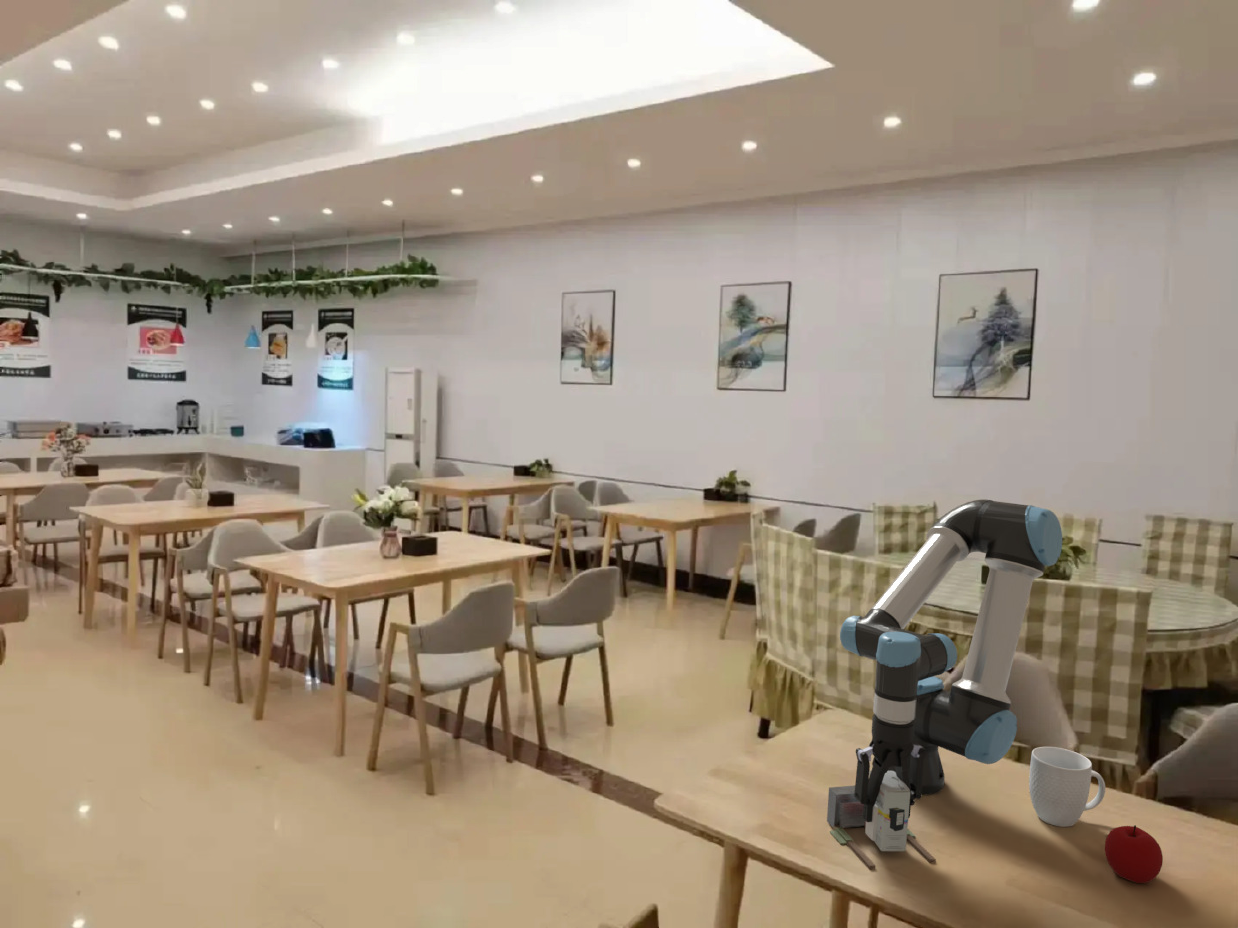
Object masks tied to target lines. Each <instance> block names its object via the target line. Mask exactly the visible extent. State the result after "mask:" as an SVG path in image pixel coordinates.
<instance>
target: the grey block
mask: <svg viewBox="0 0 1238 928" xmlns="http://www.w3.org/2000/svg"><path fill="white" fill-rule="evenodd" d="M854 793H855V785H845V786H832V787H828V798H827V799H828V800H827V814H826V822H827V823H828V825H830V826H831V828H833V826H840V827H842V828H843V829H846V828H847V829H848V828H859V827H865V823H866V820H865V819H864V818H863V806H864V804H861V803H860V802H859V801H858V800H857V799H856V798H855V797H854Z"/></svg>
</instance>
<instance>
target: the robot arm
mask: <svg viewBox="0 0 1238 928" xmlns="http://www.w3.org/2000/svg"><path fill="white" fill-rule="evenodd" d="M1062 548H1063V531H1062V527H1061V522H1060V520H1059V518H1058V517H1057V515H1056V514H1055V512H1053V511H1052V510H1049V509H1047V508H1042V507H1039V506H1035V505H1032V504H1031V505H1029V504H1027V505H1026V504H1019V503H1011V502H1003V501H995V500H991V499H976V500H975V499H974V500H971V501H967V502H965V503H963V504H960V505H958V506H956V507H955V508H953V509H951V510H950V511H947V512H946V513H944V515H942V516H941V517H940V518H939V519H937V520H936V521H935V522H934V524H932V526H931V528H930V529H929V530H928V531H927V533H926V541H925V542H924V544H923V545H922V546H921V547H920V548H919V550H918V551H917V552H916V553H915V554H914V556H913V557H912V558H911V559H910V560H909V561H908V563H907V564H906V565H905V567H903V569H902V570H901V571H900V573H898V575H897V576H896V577H895V579H894V580H893V581H892V582H891V584H890V585H889V586H888V587H887V588H886V590H885V591H884V592H883V593H882V595H881V596H880V597H879V598H878V600H877V601H876V602H875V603H874V604H873V606H872V607H871V608H870V610H868V612H866V613H865V615H864V616H861V615H851V616H849V617H847V618H845V620H844V622H843V623H842V624H841V627H840V630H839V641H840V642H841V645H842V647H843V648H844V650H846V651H848V652H850V653H853V654H855V655H858V656H859V657H864V658H867V659H870V660H874V661H876V663H875V683H874V697H873V707H872V708H873V710H872V712H873V715H872V718H871V719H872V721H871V737H872V739H871V741H870V743H869V745H868V747H865V748H863V749H862V748H860V747H857V748H856V749H855V755H856V759H857V764H856V771H855V772H856V773H855V793H854V797H855V798H856V799H857V800H858V801H859V802H860V803H861V804H864V806H863V818H864V819H865V820H866V829H865V830H864V831H865V835H866V836H867V837H868V838H869V839H870V840H871V841H873V842H875V841H876V836H877V822H878V808H879V807H878V806H877V805H876V804H875V802H876V799H877V796H878V793H879V790H880V785H881V784H882V781H883V778H884V775H885V773H887V771H894V772H895V773H896V776H897V777H898V778H899V779H901V780H902V781H903V782H904V783H905V784H906V785H907V787H908V788H909V789H910V804H909V816H908V819H909V818H910V817H911V810H912V809H911V808H912V807H911V806H914V805H915V803H916V801H915V800H921V798H922V796H926V795H927V796H928V795H929V796H930V795H934V794H937V793H939V792H942V790H943V789H944V787H945V778H946V777H945V771H944V768H943V764H942V761H941V755H940V753H939V748H941V749H944V750H947V751H949V752H952V753H954V754H957V755H959V756H963V757H965V758H966V759H967V760H971V761H976V762H979V763H981V764H985V765H992V764H993V765H994V764H995V763H998V762H999V761H1001V760H1002V759H1003V757H1005V756H1006V755H1007V753H1008V751H1009V750H1010V749H1011V747H1012V745H1013V742H1014V740H1015V738H1016V735H1017V731H1018V725H1017V724H1018V718H1017V716H1016V715H1015V714H1014V713H1013V712H1012V711H1011V710H1010V707H1011V704H1012V701H1011V699H1010V697H1009V696H1008V695H1007V693H1006V692H1007V690H1006V689H1007V687H1008V682H1009V679H1010V675H1011V671H1012V666H1013V663H1014V659H1015V654H1016V650H1017V646H1018V643H1019V639H1020V635H1021V630H1022V626H1023V622H1024V618H1025V616H1026V615H1025V614H1026V611H1027V606H1028V602H1029V599H1030V594H1031V590H1032V588H1033V582H1034V581H1035V580H1036V579H1037V578H1040V577H1042V576H1043V575H1044V572H1045V568H1046V567H1050V566H1054V565H1056V563H1057V562H1058V559H1060V557H1061V553H1062ZM977 552H978V553H979V552H980V553H984V554H985V556H984V562H985V563H986V565H987V567H988V568H989V569H988V570H989V572H988V575H987V576H988V577H987V580H986V583H985V586H984V592H983V595H982V599H981V602H980V607H979V611H978V614H977V618H976V623H975V626H974V630H973V634H972V638H971V642H970V645H969V649H968V654H967V658H966V661H965V666H964V668H963V672H962V677H961V678H960V679H959V680H957V681H955V682H953V683H952V685H951V689H950V691H948V690H945V689H944V688H945V683H944V681H943V680H942V679H941V678H939V677H937V676H939V675H943V674H944V673H946V672H947V671H950V670H951V669H952V668H954V667H955V665H956V663H957V659H958V650H957V647H956V645H955V643H954V642H953V640H952V639H951V638H949V637H948V635H945V634H943V633H936V632H935V633H933V632H932V633H928V634H922V633H917V632H914V631H911V630H908V629H907V630H906V629H905V628H906V627H907V626H908V625H909V623H910V622H911V621H912V620H913V618H914V617H915V616H916V614H917V613H918V612H919V611H920V609H921V608H922V607H923V605H924V604H925V603H926V601H927V600H928V599H929V598H930V597H931V595H932V594H933V593H934V591H935V590H936V589H937V588H938V586H939V585H940V584H941V582H942V581H943V580H944V579H945V578H946V576H947V574H948V573H949V572H950V571H951V570H952V569H953V567H954V566H955V564H957V562H962V561H964V560H965V559H966V558H967V557H968V556H969V554H972V553H977ZM872 755H873V760H872ZM871 761H872V763H870V762H871ZM870 764H871V765H872V768H871V765H870ZM870 769H871V770H870ZM870 771H871V773H870ZM869 773H870V777H869Z"/></svg>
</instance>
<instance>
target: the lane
mask: <svg viewBox="0 0 1238 928" xmlns="http://www.w3.org/2000/svg"><path fill="white" fill-rule="evenodd" d="M829 833H830V835H832V837H833V838H835V840H836V841H837V842H838V844H840V845H847V847H848V848H849V849H851V851H852V852H853V853H854V854H855V855H856V856H857V857H858V858H859V860H860V861H861V862H862V863H863V864H864V865H865V866H866V867H867V868H868V870H873V869H876V867H877V866H876V864H875V863H874V862H873V861H872V860H871V859H870V857H869V856H867V854H866V853H865V852H864V851H863V850H862V848H860V847H859V846H858V844H857V843H856V842H854V840H853V838H852V837H851V836H850V835H849V833H847V832H846V830H845V829H844V828H842V827H840V826H833V827H832V830H829ZM915 838H916V834H914V833H913V831H911V830H910V829H909V828H907V840H906V842H907V843H909V844H910V846H912V848H914V849H915V851H916V852H918V853H919V854H920V855H921V856H922V857H923V858H924V859H925V860H926V861H927V862H928V863H929V864H932V863H933V864H934V863H936V862H937V861H936V860H937V859H936V858H935V857H934V856H933V855H932V854H931V853H930V852H929V851H928V850H927V849H926V848H924V846H923V845H922V844H921V843H920V842H918V841H917V840H916V839H915Z"/></svg>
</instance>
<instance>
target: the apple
mask: <svg viewBox="0 0 1238 928" xmlns="http://www.w3.org/2000/svg"><path fill="white" fill-rule="evenodd" d="M1104 854H1105V858H1106V860H1107V862H1108V865H1109V867H1111V869H1112V870H1113V871H1114V872H1115V873H1116V874H1117V875H1118V876H1119V877H1121V878H1123V879H1124V880H1128V881H1130V882H1133V883H1136V884H1146V883H1149V882H1152V881H1153V880H1155V879H1156V878H1157V876H1158V875H1159V874H1160V872H1161V869H1162V867H1163V861H1164V860H1163V858H1164V857H1163V856H1164V855H1163V852H1162V849H1161V846H1160V844H1159V843H1158V842H1157V840H1156V839H1155V838H1154V836H1152V835H1151V834H1150V833H1148V832H1146V830H1144V829H1142V828H1139V827H1137V825H1122V826H1118V827H1114V828H1112V830H1110V831H1109V832H1108V834H1107V836H1106V839H1105V841H1104Z"/></svg>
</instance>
